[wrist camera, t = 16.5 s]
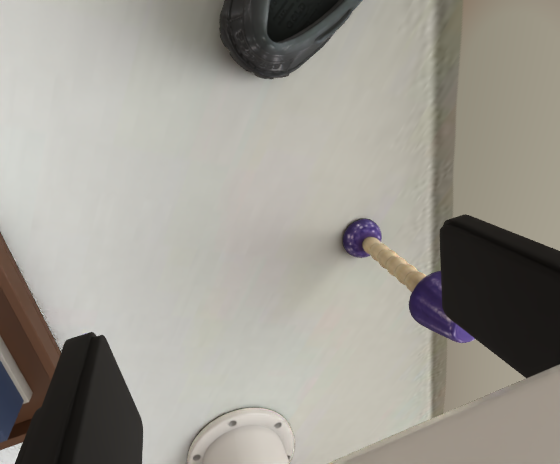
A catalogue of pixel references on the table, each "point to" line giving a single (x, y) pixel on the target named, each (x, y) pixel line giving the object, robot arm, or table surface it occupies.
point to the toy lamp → (405, 279)
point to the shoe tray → (24, 341)
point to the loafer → (279, 31)
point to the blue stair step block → (10, 391)
